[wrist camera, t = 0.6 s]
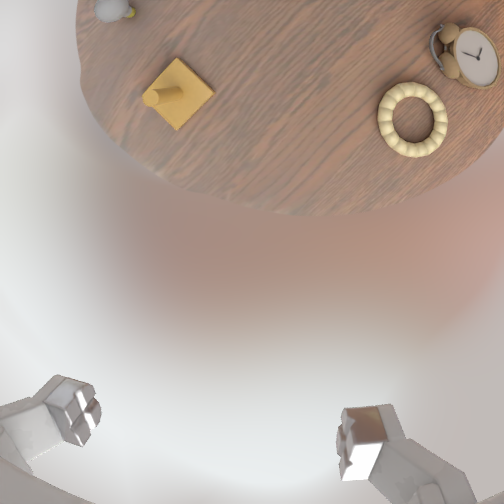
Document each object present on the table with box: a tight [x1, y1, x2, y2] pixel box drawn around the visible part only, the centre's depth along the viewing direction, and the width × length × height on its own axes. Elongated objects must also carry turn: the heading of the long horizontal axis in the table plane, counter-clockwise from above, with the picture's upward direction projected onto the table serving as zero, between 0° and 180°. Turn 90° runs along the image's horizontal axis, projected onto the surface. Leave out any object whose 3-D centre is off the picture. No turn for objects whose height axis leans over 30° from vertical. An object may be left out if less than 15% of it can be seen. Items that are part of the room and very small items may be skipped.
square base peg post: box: [142, 58, 216, 130], centre depth 42 cm, size 9×9×12 cm
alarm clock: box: [429, 23, 501, 90], centre depth 34 cm, size 11×5×15 cm
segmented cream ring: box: [377, 82, 448, 158], centre depth 43 cm, size 13×13×2 cm
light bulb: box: [94, 0, 136, 22], centre depth 35 cm, size 5×5×10 cm
